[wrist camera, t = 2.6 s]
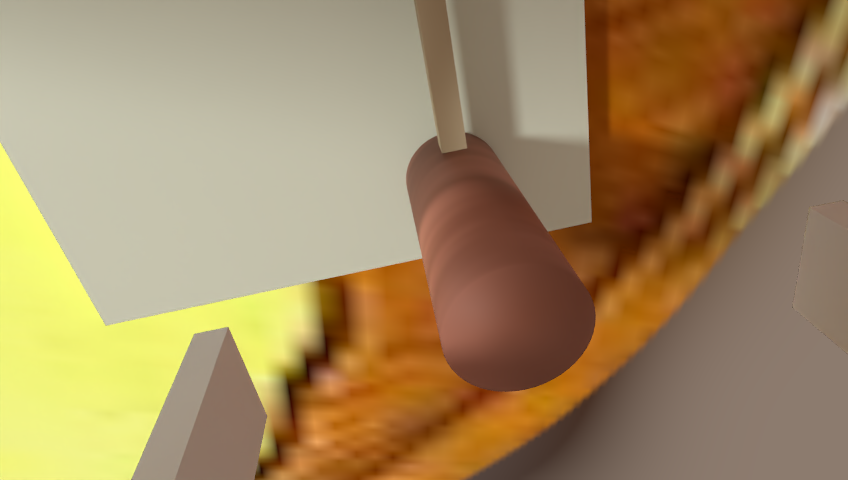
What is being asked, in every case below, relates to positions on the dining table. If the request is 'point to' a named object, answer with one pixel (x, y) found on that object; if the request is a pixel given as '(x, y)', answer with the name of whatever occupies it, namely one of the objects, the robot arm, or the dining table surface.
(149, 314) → the white compartment tray
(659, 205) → the dining table surface
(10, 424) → the dining table surface
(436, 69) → the tethered block
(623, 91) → the dining table surface
